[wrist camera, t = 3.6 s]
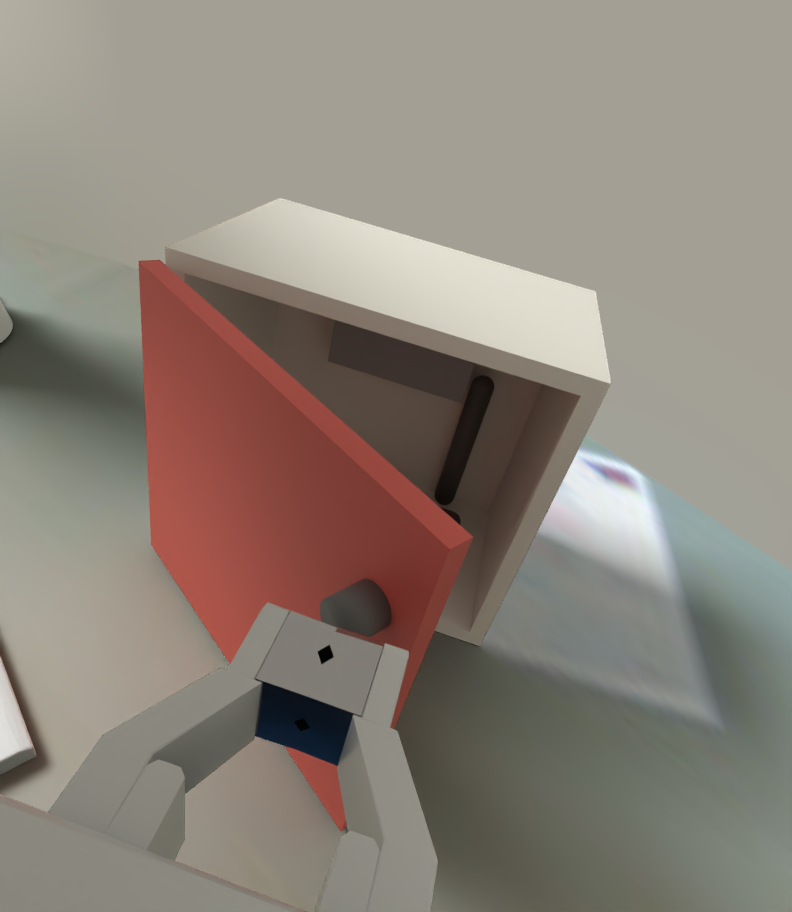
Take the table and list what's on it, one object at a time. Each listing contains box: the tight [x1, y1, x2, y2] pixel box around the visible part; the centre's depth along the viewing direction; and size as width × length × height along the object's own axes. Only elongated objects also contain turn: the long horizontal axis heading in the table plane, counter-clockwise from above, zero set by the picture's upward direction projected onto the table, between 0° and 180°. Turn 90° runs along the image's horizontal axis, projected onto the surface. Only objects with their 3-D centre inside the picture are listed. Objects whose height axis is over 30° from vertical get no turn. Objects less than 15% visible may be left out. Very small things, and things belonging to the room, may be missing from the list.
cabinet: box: [165, 198, 611, 646], centre depth 38 cm, size 22×14×20 cm, turn 76°
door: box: [139, 260, 473, 831], centre depth 27 cm, size 21×3×19 cm, turn 41°
